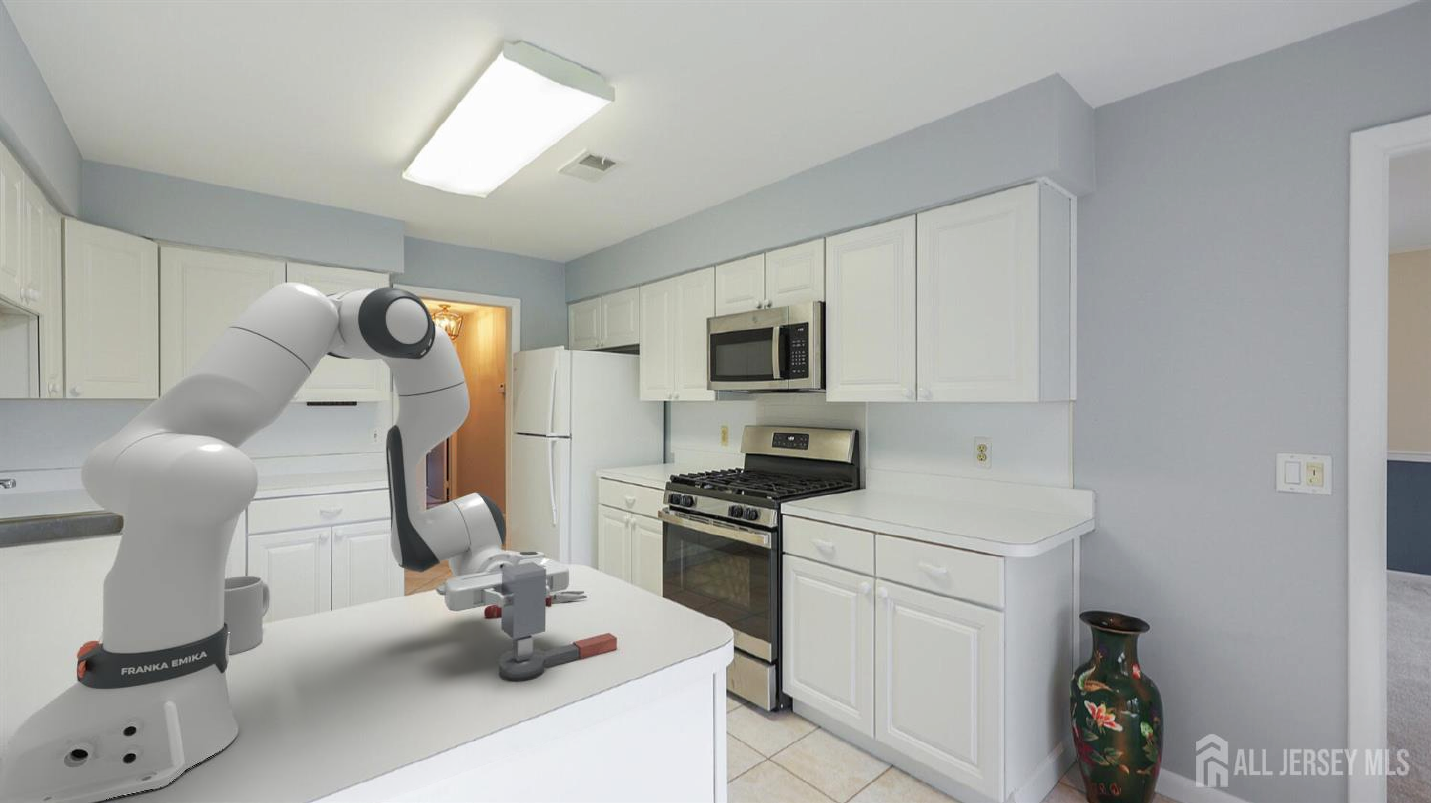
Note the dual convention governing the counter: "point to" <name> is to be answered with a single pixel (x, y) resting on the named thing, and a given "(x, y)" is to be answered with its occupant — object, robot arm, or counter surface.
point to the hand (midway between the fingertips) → (526, 597)
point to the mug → (245, 611)
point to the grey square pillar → (524, 600)
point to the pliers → (554, 597)
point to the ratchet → (548, 656)
